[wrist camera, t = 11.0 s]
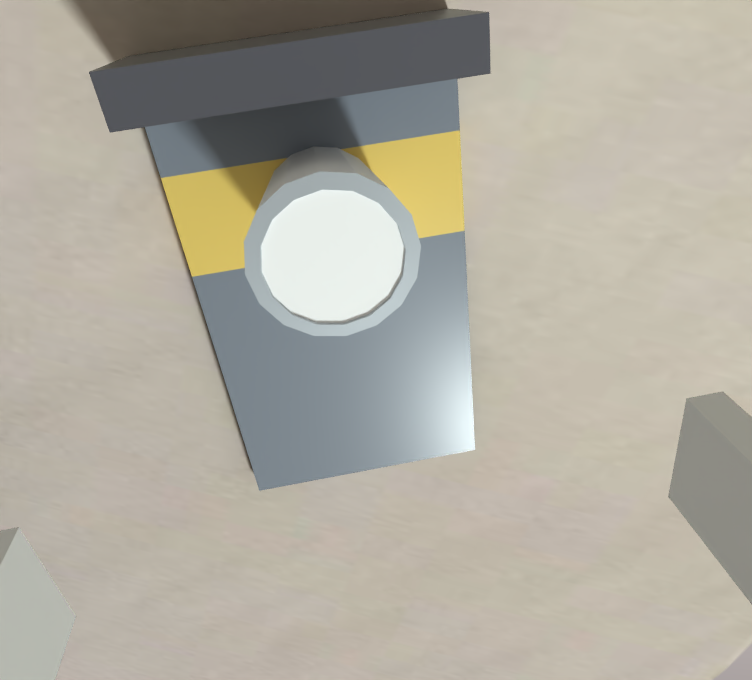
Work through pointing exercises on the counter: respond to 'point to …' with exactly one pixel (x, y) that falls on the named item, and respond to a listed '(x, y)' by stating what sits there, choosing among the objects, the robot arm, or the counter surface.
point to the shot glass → (330, 245)
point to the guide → (245, 191)
